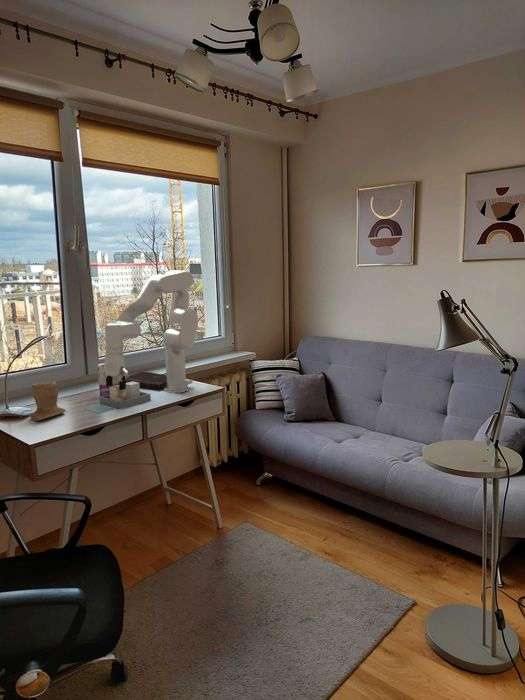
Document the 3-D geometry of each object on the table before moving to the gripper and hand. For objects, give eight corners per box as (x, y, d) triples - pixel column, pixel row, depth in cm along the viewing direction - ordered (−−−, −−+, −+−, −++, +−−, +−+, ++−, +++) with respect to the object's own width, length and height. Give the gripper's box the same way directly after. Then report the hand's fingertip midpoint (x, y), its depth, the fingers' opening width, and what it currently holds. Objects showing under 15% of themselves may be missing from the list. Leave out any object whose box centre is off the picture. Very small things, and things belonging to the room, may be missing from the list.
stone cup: (51, 409, 223) (48, 377, 220) (69, 413, 217) (67, 380, 214) (21, 419, 209) (17, 385, 207) (40, 424, 204) (36, 388, 201)
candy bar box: (122, 393, 248) (120, 361, 245) (124, 396, 243) (121, 363, 240) (99, 395, 244) (96, 363, 241) (100, 398, 239) (97, 365, 236)
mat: (100, 406, 227) (100, 404, 227) (114, 410, 221) (114, 408, 221) (85, 410, 221) (85, 409, 221) (98, 414, 215) (98, 413, 215)
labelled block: (119, 401, 232) (118, 384, 231) (126, 403, 229) (125, 386, 228) (110, 404, 229) (109, 386, 227) (117, 406, 225) (116, 388, 224)
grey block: (133, 397, 239) (132, 381, 237) (140, 399, 236) (139, 383, 234) (124, 400, 235) (123, 383, 233) (131, 401, 232) (130, 385, 230)
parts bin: (131, 395, 243) (130, 388, 243) (150, 401, 235) (150, 393, 234) (100, 404, 230) (99, 397, 229) (119, 410, 221) (119, 402, 220)
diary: (159, 393, 250) (158, 383, 249) (120, 388, 261) (119, 378, 260) (180, 384, 267) (179, 375, 266) (142, 379, 277) (142, 370, 276)
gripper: (96, 349, 226) (97, 386, 229) (119, 354, 216) (120, 392, 219) (110, 347, 232) (111, 383, 235) (133, 351, 222) (134, 389, 225)
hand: (116, 387), depth 227 cm, fingers open, 9 cm apart
